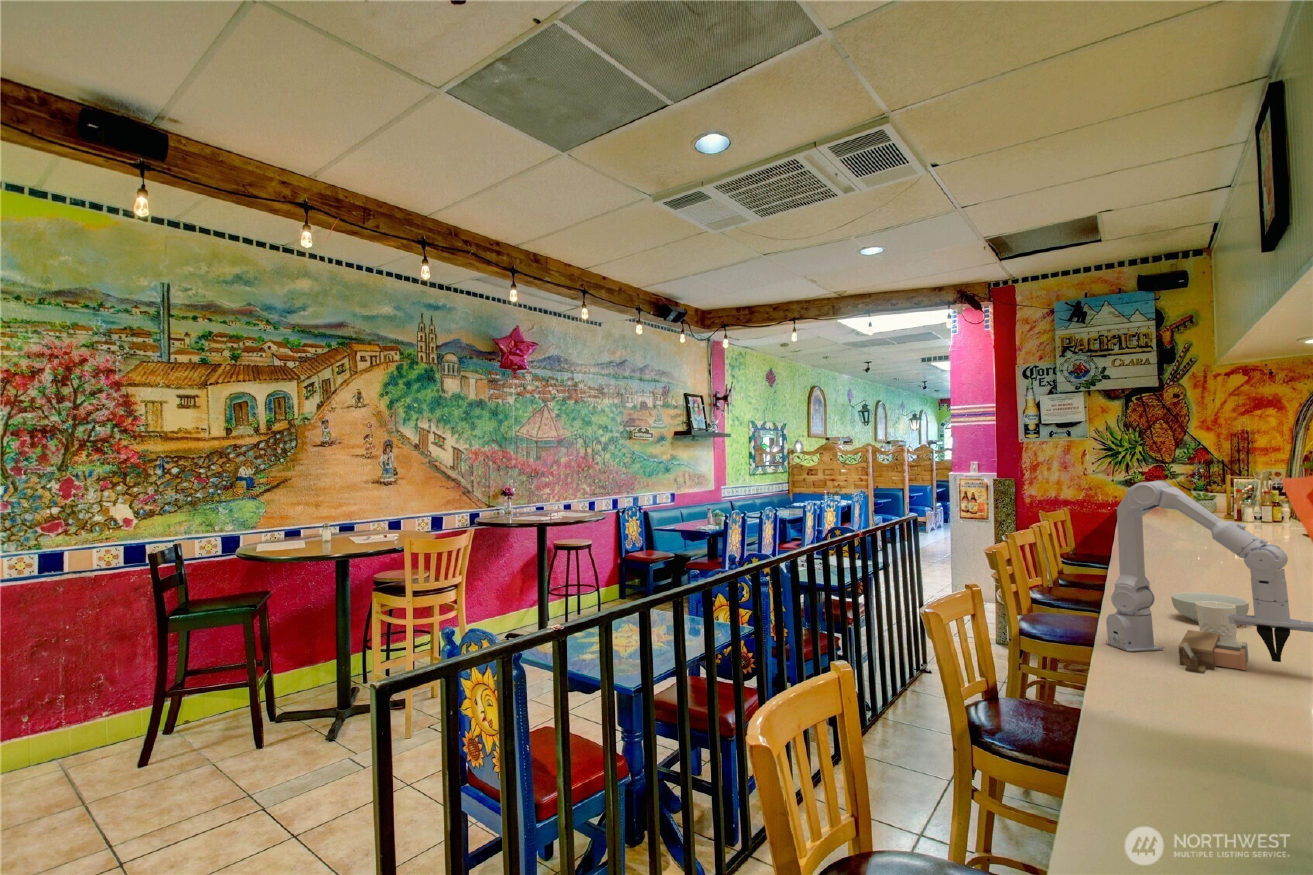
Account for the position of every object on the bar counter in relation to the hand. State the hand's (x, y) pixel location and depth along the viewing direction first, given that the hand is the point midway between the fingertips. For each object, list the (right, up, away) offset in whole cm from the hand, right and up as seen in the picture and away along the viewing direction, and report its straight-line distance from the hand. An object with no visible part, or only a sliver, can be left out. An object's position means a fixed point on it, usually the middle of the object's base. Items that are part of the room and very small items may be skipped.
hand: (1276, 660), depth 138 cm
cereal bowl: (+24, -4, +43) cm, 49 cm away
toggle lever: (-14, -2, +5) cm, 15 cm away
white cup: (+8, -4, +23) cm, 25 cm away
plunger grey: (-1, -4, +11) cm, 12 cm away
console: (-8, -4, +11) cm, 14 cm away
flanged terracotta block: (-6, -4, +6) cm, 9 cm away
